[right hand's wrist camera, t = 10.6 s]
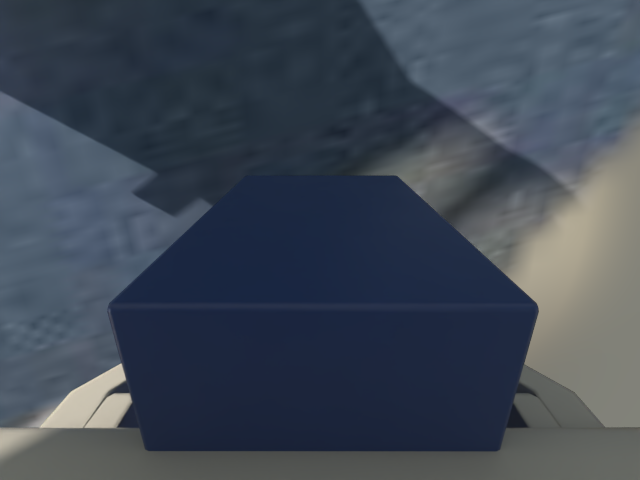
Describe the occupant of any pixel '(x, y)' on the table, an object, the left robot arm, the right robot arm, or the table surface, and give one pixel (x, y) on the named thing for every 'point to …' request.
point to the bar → (322, 326)
